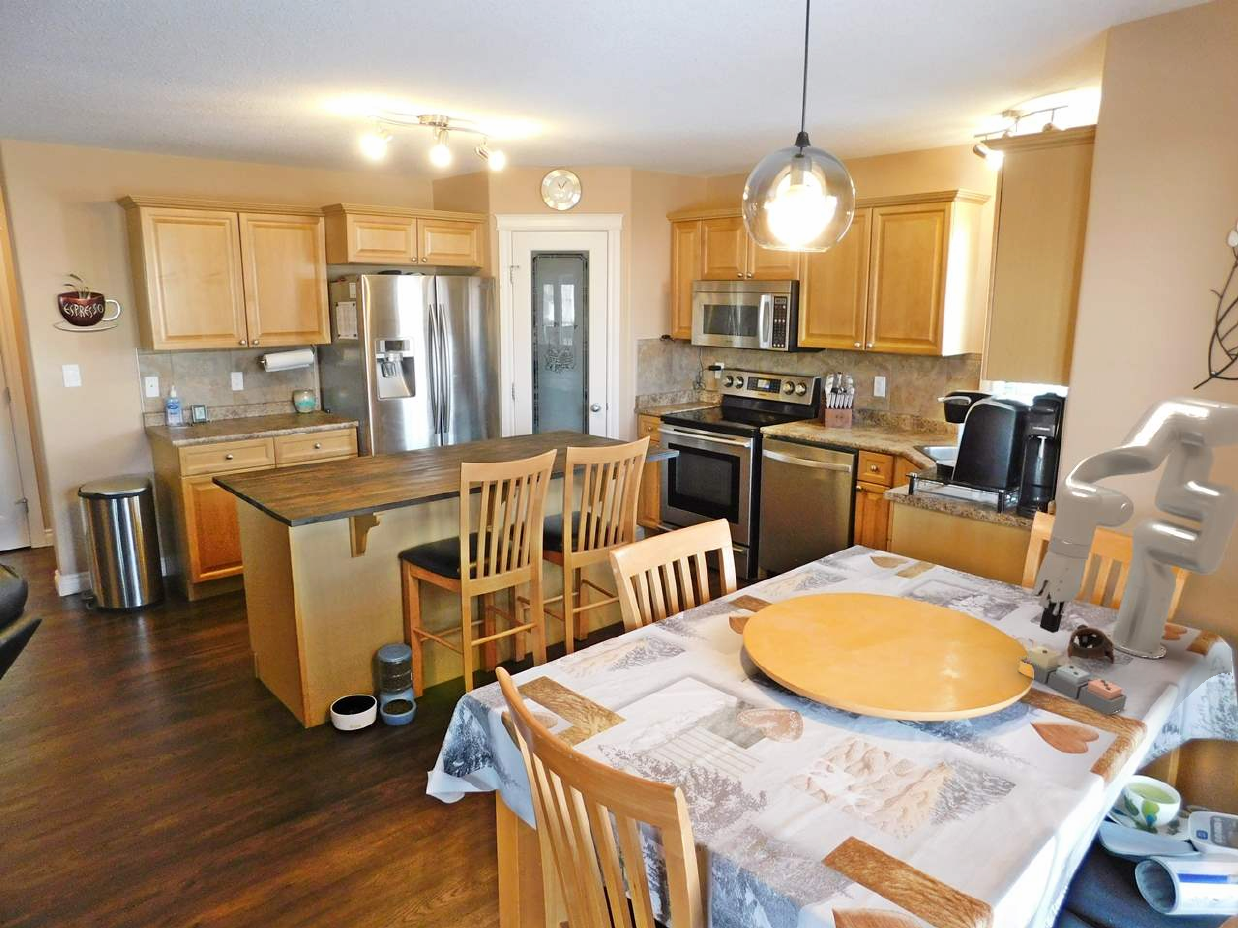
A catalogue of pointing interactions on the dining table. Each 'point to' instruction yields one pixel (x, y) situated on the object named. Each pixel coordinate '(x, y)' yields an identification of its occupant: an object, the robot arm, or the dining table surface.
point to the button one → (1043, 657)
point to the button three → (1104, 689)
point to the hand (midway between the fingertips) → (1048, 629)
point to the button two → (1073, 674)
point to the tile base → (1101, 701)
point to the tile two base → (1065, 686)
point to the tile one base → (1041, 672)
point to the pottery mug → (1099, 644)
